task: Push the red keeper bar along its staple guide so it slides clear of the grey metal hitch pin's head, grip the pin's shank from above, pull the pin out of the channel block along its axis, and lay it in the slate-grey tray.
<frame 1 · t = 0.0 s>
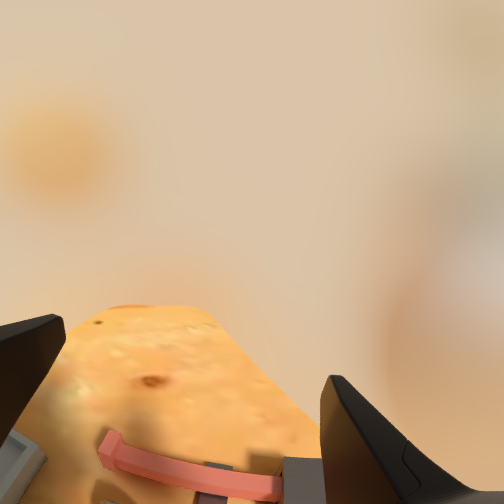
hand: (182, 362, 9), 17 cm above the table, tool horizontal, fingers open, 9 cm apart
keeper bar: (210, 478, 17), point 2 cm above the table, slide at 0.0 cm
keeper guide: (292, 499, 17), on the table
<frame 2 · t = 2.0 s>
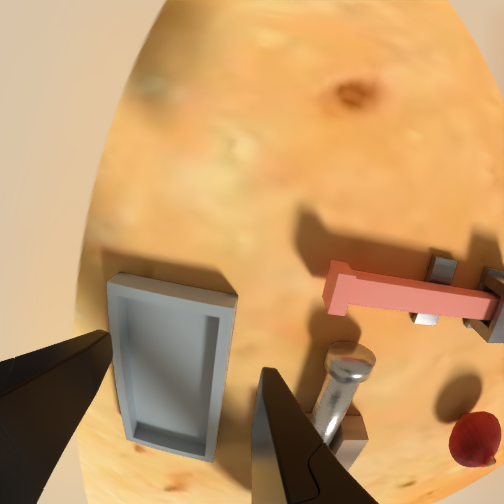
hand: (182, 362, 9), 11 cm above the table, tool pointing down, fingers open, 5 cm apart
tray: (172, 377, 22), on the table
onion: (461, 415, 22), on the table
pin: (322, 406, 22), on the table, touching channel block
keeper bar: (441, 301, 17), point 2 cm above the table, slide at 0.0 cm
channel block: (309, 434, 23), on the table
keeper guide: (486, 298, 19), on the table
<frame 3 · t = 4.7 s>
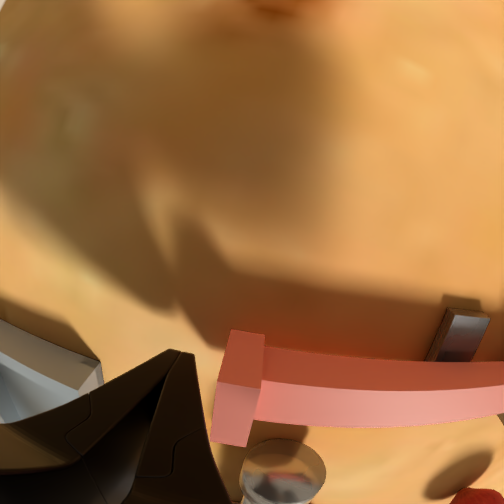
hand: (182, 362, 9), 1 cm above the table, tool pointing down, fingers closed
tray: (64, 439, 13), on the table
onion: (460, 488, 14), on the table
pin: (258, 498, 13), on the table, touching channel block
keeper bar: (455, 399, 8), point 2 cm above the table, slide at 0.1 cm, touching gripper
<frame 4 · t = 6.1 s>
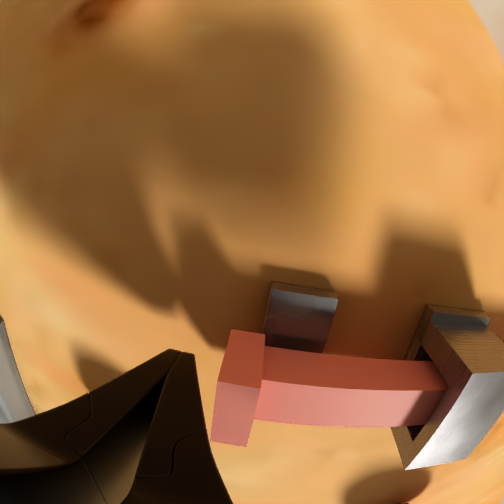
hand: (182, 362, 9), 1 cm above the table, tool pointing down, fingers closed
tray: (0, 401, 14), on the table
onion: (398, 502, 14), on the table
keeper bar: (455, 398, 8), point 2 cm above the table, slide at 6.6 cm, touching gripper
keeper guide: (432, 364, 10), on the table
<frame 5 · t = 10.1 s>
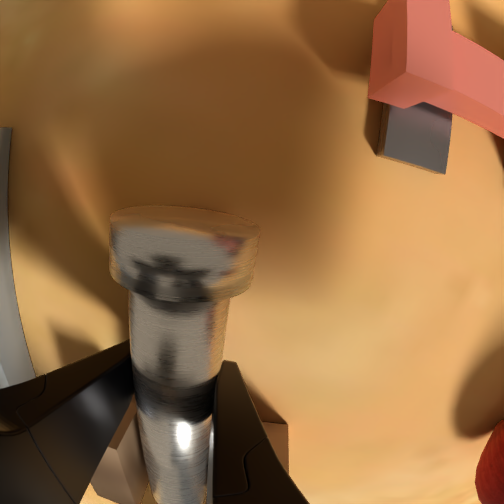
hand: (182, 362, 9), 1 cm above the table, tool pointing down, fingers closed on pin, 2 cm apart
onion: (497, 422, 11), on the table
pin: (187, 390, 10), on the table, touching channel block, gripper
channel block: (186, 448, 11), on the table
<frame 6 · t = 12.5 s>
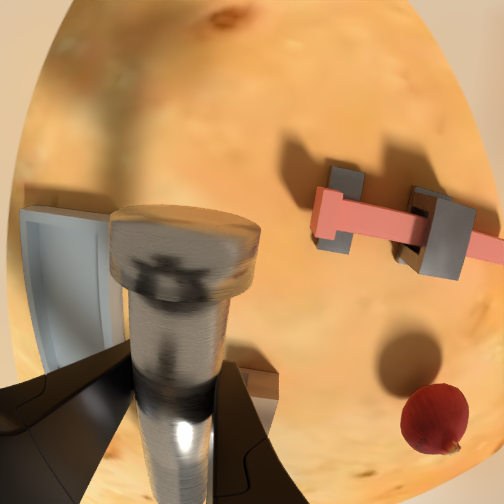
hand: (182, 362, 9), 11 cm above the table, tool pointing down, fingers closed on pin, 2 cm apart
tray: (79, 313, 21), on the table
onion: (419, 388, 21), on the table
pin: (187, 390, 10), point 10 cm above the table, touching gripper
keeper bar: (441, 236, 15), point 2 cm above the table, slide at 6.7 cm
channel block: (222, 392, 22), on the table
keeper guide: (422, 227, 18), on the table
when the fingers open (3 cm above the table, at t = 15.0 s): pin drops 2 cm, resting on tray.
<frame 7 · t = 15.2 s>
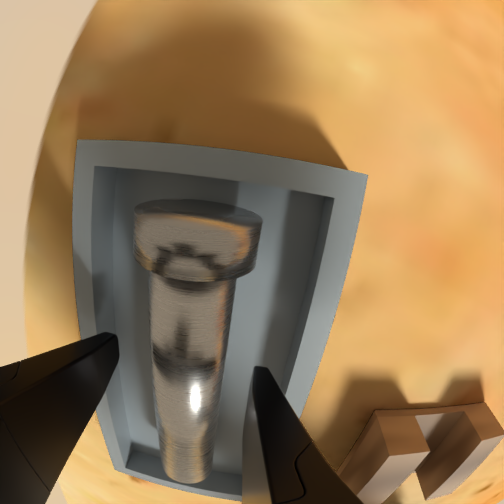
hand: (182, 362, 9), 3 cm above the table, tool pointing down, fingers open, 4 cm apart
tray: (197, 364, 12), on the table
pin: (196, 365, 12), resting on tray
channel block: (413, 442, 13), on the table
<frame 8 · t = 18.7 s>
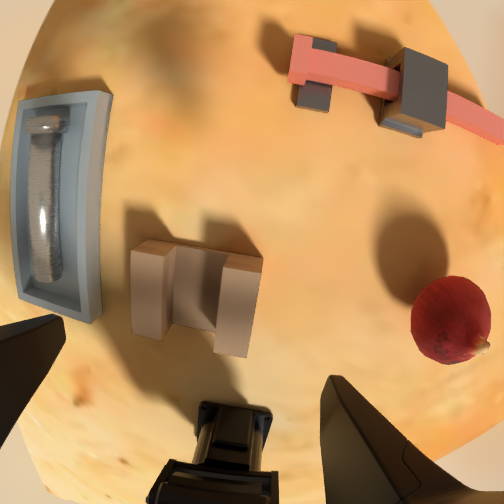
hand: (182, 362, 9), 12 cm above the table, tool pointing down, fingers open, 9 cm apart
tray: (58, 204, 20), on the table
onion: (427, 296, 20), on the table
pin: (57, 203, 20), resting on tray
keeper bar: (419, 92, 14), point 2 cm above the table, slide at 6.7 cm
channel block: (200, 288, 21), on the table
keeper guide: (402, 98, 16), on the table
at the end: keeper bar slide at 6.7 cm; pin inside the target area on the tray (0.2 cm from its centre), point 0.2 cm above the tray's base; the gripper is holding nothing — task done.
